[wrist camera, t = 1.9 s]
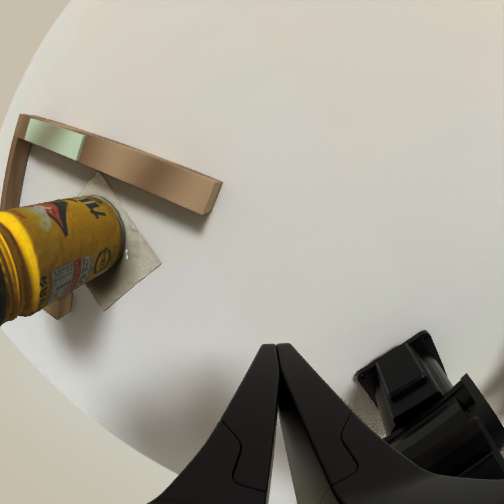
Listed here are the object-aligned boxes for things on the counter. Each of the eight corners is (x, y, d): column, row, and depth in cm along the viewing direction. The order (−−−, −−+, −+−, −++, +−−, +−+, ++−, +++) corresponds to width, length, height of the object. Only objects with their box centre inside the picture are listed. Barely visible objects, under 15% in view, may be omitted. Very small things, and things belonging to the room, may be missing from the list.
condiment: (99, 170, 19) (-38, 182, 7) (162, 262, 20) (45, 349, 8) (53, 228, 21) (-60, 267, 9) (106, 309, 22) (8, 389, 10)
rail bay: (223, 182, 18) (213, 182, 16) (157, 363, 22) (147, 379, 20) (35, 115, 18) (17, 113, 16) (9, 264, 23) (-5, 270, 20)
